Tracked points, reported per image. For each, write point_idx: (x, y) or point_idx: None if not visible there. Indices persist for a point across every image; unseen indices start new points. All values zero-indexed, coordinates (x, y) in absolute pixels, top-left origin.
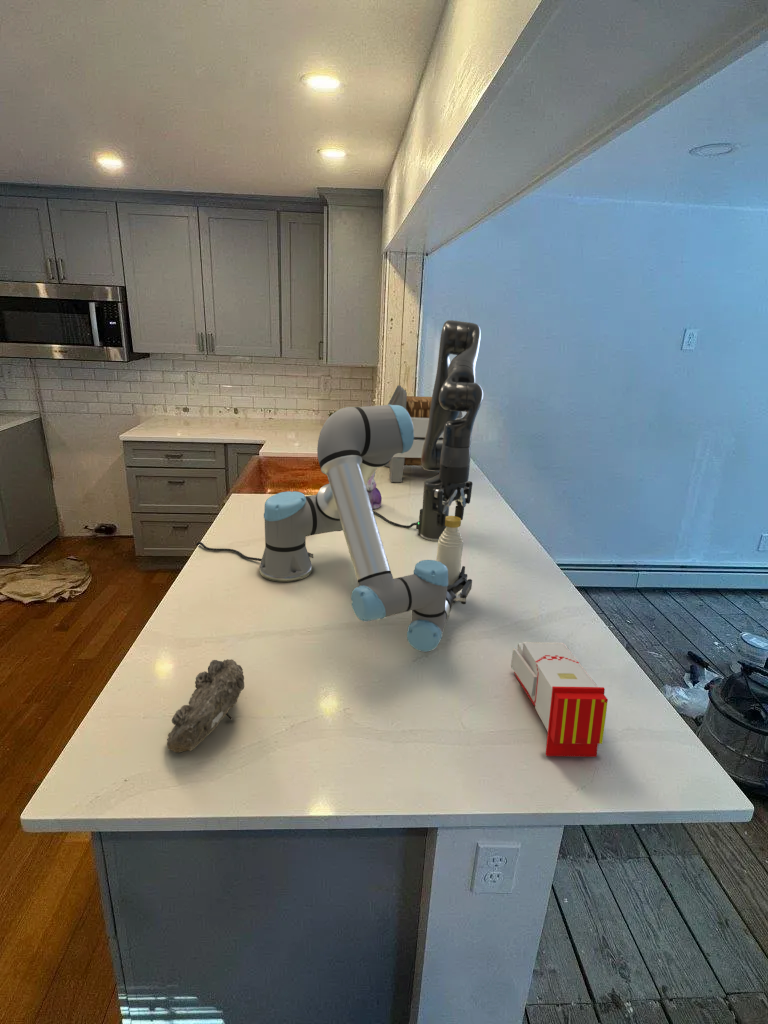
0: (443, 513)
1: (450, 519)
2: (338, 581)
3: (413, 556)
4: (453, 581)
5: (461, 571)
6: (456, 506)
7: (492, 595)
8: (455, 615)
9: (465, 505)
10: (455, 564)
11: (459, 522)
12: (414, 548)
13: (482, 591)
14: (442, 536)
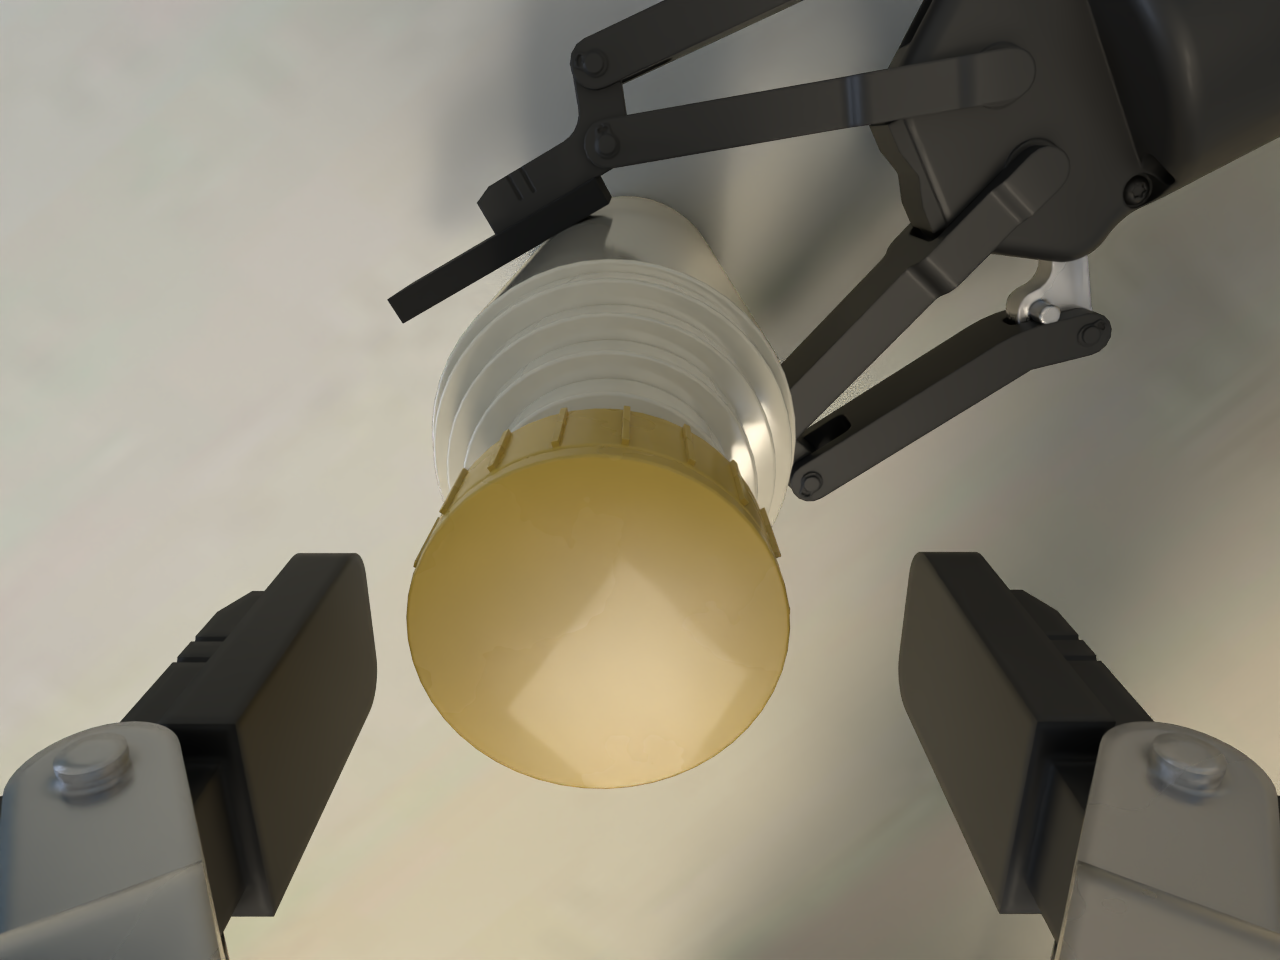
0: (1209, 738)
1: (692, 628)
2: (962, 864)
3: (323, 824)
4: (667, 220)
5: (511, 251)
6: (273, 885)
7: (280, 50)
8: (790, 55)
9: (76, 741)
10: (670, 238)
11: (580, 441)
12: None
13: (299, 157)
14: None
